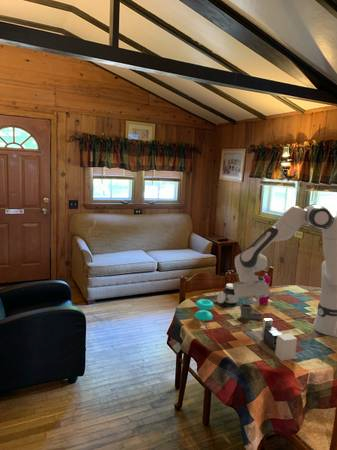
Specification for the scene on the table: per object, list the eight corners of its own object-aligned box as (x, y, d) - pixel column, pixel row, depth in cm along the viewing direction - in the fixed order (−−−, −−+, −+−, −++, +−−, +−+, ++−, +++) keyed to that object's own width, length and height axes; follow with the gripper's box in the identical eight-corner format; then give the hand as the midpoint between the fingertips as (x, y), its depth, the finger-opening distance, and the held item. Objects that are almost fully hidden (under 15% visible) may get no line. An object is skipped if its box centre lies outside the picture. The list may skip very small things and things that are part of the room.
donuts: (199, 306, 188) (193, 298, 198) (198, 322, 190) (192, 314, 200) (216, 305, 191) (210, 298, 200) (215, 321, 193) (208, 314, 202)
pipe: (261, 323, 195) (262, 309, 193) (238, 319, 197) (239, 306, 196) (260, 318, 200) (262, 305, 199) (238, 315, 203) (239, 302, 202)
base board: (266, 331, 185) (266, 329, 185) (299, 359, 159) (299, 357, 159) (244, 333, 181) (244, 331, 181) (275, 363, 155) (275, 361, 155)
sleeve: (271, 340, 173) (273, 326, 172) (281, 349, 166) (283, 334, 164) (263, 341, 172) (264, 327, 170) (272, 350, 164) (274, 335, 163)
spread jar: (239, 303, 221) (241, 286, 218) (230, 308, 212) (232, 290, 210) (223, 297, 228) (225, 280, 226) (214, 302, 220) (215, 284, 218)
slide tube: (268, 336, 175) (270, 318, 173) (290, 355, 158) (293, 335, 157) (261, 337, 174) (263, 318, 172) (283, 356, 157) (285, 336, 155)
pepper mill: (266, 305, 219) (270, 275, 215) (255, 302, 223) (259, 273, 219) (270, 302, 225) (273, 273, 221) (259, 299, 229) (262, 270, 225)
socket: (287, 352, 163) (290, 333, 161) (294, 358, 158) (297, 338, 156) (275, 354, 161) (277, 334, 159) (281, 360, 156) (284, 340, 154)
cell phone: (204, 322, 192) (204, 320, 192) (236, 329, 186) (236, 328, 186) (199, 328, 184) (200, 327, 184) (233, 336, 178) (233, 335, 177)
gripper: (234, 280, 184) (241, 304, 177) (266, 277, 191) (275, 301, 183) (229, 285, 189) (236, 308, 182) (261, 282, 196) (269, 305, 188)
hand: (256, 305), depth 183 cm, fingers closed
